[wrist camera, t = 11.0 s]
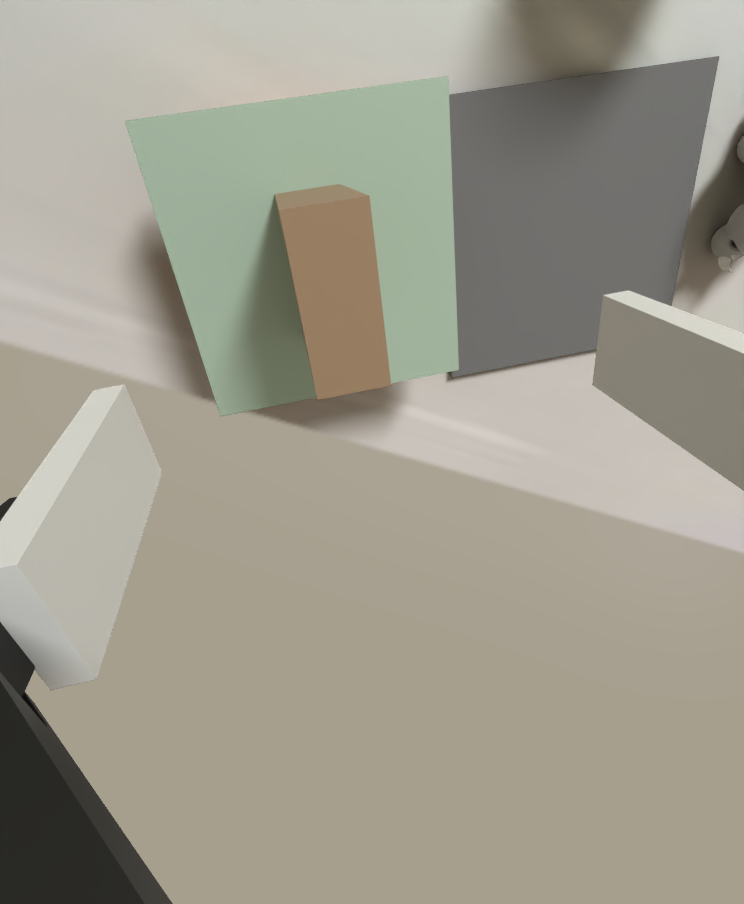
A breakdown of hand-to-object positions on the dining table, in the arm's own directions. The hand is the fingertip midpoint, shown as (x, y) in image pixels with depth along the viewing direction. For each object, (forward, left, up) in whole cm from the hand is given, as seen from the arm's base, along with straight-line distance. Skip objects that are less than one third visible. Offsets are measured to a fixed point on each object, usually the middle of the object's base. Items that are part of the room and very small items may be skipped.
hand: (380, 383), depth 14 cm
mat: (+2, +19, -24) cm, 31 cm away
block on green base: (0, 0, -18) cm, 19 cm away
